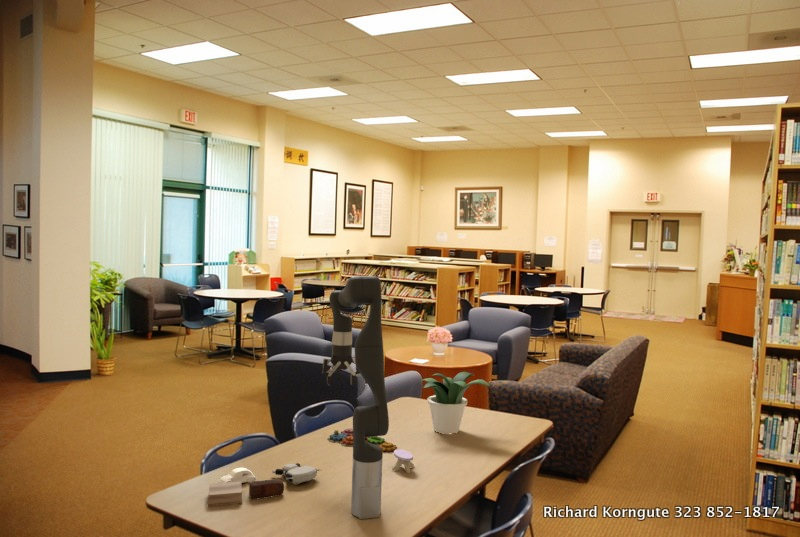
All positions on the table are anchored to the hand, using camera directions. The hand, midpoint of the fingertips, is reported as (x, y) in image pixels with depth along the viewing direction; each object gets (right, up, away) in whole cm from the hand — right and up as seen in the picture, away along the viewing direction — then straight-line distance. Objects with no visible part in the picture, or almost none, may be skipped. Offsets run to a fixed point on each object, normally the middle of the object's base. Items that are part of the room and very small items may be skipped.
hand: (340, 385), depth 230 cm
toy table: (+24, -31, -4) cm, 39 cm away
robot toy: (-14, -30, -17) cm, 37 cm away
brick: (-21, -30, -32) cm, 49 cm away
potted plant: (+46, -29, +43) cm, 70 cm away
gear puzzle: (+7, -30, +23) cm, 38 cm away
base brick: (-34, -30, -36) cm, 57 cm away
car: (-34, -30, -22) cm, 50 cm away
